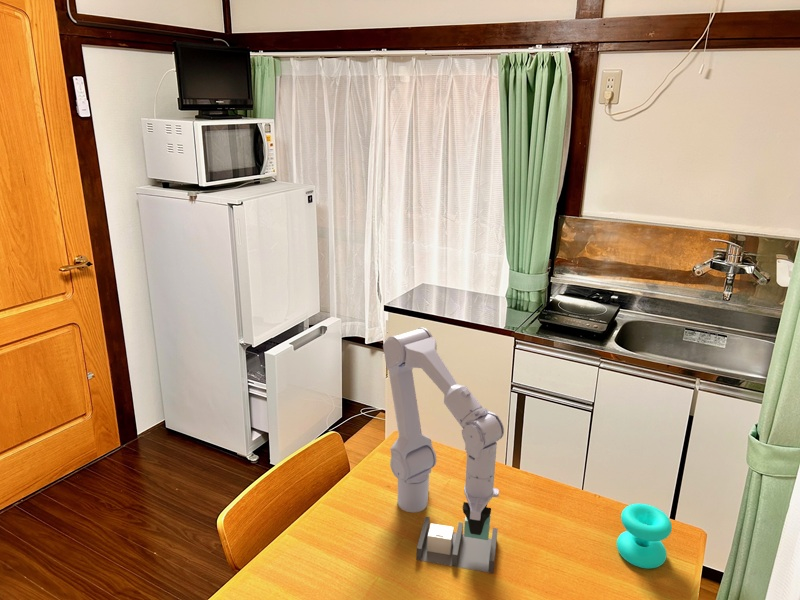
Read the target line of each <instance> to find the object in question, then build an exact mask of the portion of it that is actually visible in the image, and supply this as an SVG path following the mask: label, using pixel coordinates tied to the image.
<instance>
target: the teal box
mask: <svg viewBox="0 0 800 600" xmlns="http://www.w3.org/2000/svg"><path fill="white" fill-rule="evenodd" d="M491 516H492V513H491V514H490V516H489V517H488V518H487V519H486V521H485V523H484V526H483V530H482V533H481V535H476V534H471V533H470V529H469V524H468V520H467V517H466V516H465V518H464V526H463V534H464V537H470V538H477V539H483V540H488V538H490V537H489V535H490V528H491Z"/></svg>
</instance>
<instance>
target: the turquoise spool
mask: <svg viewBox="0 0 800 600" xmlns="http://www.w3.org/2000/svg"><path fill="white" fill-rule="evenodd" d="M620 519H621V524H622V525H623V527H624V529H626V530H625V531H623V532H621V533H620V535H619V536H618V537H617V539H616V549H617V550H618V553H619V555H620V556H621V557H622V558H623V559H624V560H625V561H627V562H628V563H629V564H631V565H633V566H636V567H638V568H641V569H649V570H650V569H655V568H656V569H657V568H658V567H660V566H663V564H665V561H666V559H667V550H666V547H665V545H664V543H663V542H662V541H663V540H666V539H667V538H669V536H670V535H671V534H672V530H673V526H672V525H673V524H672V522H671V519H670V517H668V515H667V514H666V513H665V512H664V511H662V510H661V509H659V508H657V507H656V506H653V505H650V504H647V503H646V504H645V503H633V504H629V505H627V506H625V508H623V510H622V512H621V515H620Z"/></svg>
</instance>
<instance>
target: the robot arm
mask: <svg viewBox="0 0 800 600" xmlns="http://www.w3.org/2000/svg"><path fill="white" fill-rule="evenodd" d="M437 346H438V345H437V340H436V339H435V338H434V337H433V334H432V333H431V331H429V329H427V328H426V327H418V328H417V329H413V330H410V331H407V332H403V333H400V334H397V335H391V336H389V337H387V338H386V340H385V341H384V343H383V345H382V349H383V354H384V360H385V366H386V370H387V371H388V375H389V383H390V387H391V388H390V389H391V395H392V400H393V408H394V412H395V419H396V426H397V432H398V437H397V438H396V440H395V442H393V444H392V445H391V447H390V463H389V464H390V470H391V472H392V474H393V476H394V477H395V478H396V479H397V506H398V507H399V509H401V510H403V511H405V512H407V513H419V512H421V511H424V510H425V509H426V508H427V507H428V503H429V502H428V501H429V500H428V499H429V491H430V490H429V489H430V488H429V487H430V474H431V473H432V468H435V466H436V465H437V453H436V451H435V449H434V446H433V444H432V443H433V442H432V439H431V438H430V437H429V436H427V435H425V434H422V433H423V431H422V428H421V427H422V426H421V421H420V419H421V418H420V413H419V406H418V399H417V393H416V386H415V380H414V374H413V369H414V368H415V369H422V371H423V372H424V373H425V374H426V375H427V377H428V378H429V379H430V380H431V381H432V383H434V384H435V386H437V388H438V389H439V390H440V391H441V392H442V394H443V395H444V399H443V404H444V405H445V407H446V409H448V411H449V412H450V414H451V415H452V417H454V419H455V420H456V421H457V422H458V424H459V426H460V427H461V428H462V429H461V435H462V439H463V442H464V446H465V449H464V450H465V453H466V465H465V484H464V486H463V487H464V489H463V492H464V496H465V498H466V501H467V502H465V501H464V502H463V504H462V511H463V512H462V513H463V514H464V515H465V517H467V520H468V524H469V529H470V533H471V534H476V535H481V533H482V530H483V526H484V523H485V521H486V519H487V518H488V517H489V516H490V514H491V515H492V507H488V504H489V503H490V502H491V500H492V498H498V497H499V496H500V495H499V493H500V489H498V488H496V487H494V485H495V473H496V458H497V457H496V456H497V448H498V446H497V445H498V444H497V443H498V442H499V440H501V439H502V438H503V437H504V433H505V428H504V425H503V422H502V420H501V419H500V416H499V415H497V414H496V413H495V412H491V411H490V410H489V409H488V408H484V407H483V406H482V405H481V403H480V402H479V401H478V400H477V398H476V397H475V396H474V394H473V393H472V392H471V391H470V390H469V388H468V387H467V386H466V385H463V384H458V383H457V380H456V379H455V378H454V376H453V374H452V373H451V371H450V370H449V368H448V367H447V366H446V364H445V362H444V360H443V359H442V358H441V356H440V355H439V353H438V352H437V350H438V348H437Z"/></svg>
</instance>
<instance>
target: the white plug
mask: <svg viewBox="0 0 800 600" xmlns="http://www.w3.org/2000/svg"><path fill="white" fill-rule="evenodd" d="M429 528H430V529H429V532H428V539H427V551H430V552H436V553H441V554H447V555H450V554H451V549H452V544H453V532H454V530H455V529H454V528H455V527H454V526H451V525H443V524H437V523H432V522H430V525H429Z"/></svg>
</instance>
